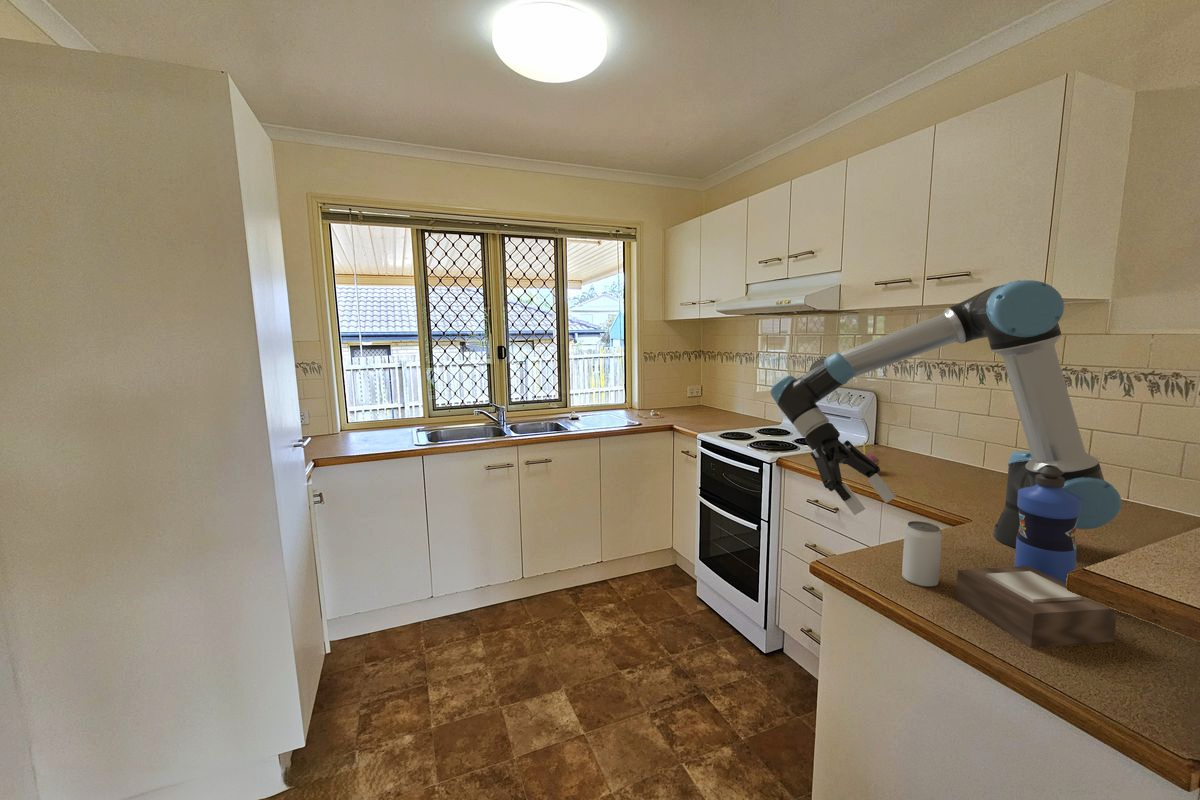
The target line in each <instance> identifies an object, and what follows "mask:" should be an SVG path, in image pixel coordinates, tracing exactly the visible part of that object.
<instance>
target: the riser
mask: <svg viewBox="0 0 1200 800" xmlns="http://www.w3.org/2000/svg"><path fill="white" fill-rule="evenodd" d="M956 577H957V578H956V588H955V589H956V590H955V599H956V601H959V602H960V603H962V604H963V605H965V606H966V607H968V608H969V609H970V610H972V611H974V612H975V613H977V614H978V615H980V616H981V617H983V618H984V617H985V619H986V620H988V621H989V622H991V623H993V624H994V625H995V626H996V627H998V628H1000V629H1002V630H1003V631H1004V632H1006V633H1008V634H1009V635H1011V636H1012V637H1014V638H1015V639H1017V640H1019V641H1020V642H1021V643H1023V644H1024V645H1025V646H1028V647H1029V648H1031V649H1033V648H1044V647H1055V646H1056V647H1058V646H1060V647H1061V646H1073V645H1086V644H1087V645H1089V644H1101V643H1104V644H1105V643H1114V642H1115V641H1114V640H1115V632H1116V624H1117V616H1118V610H1114V609H1111V608H1109V607H1106V606H1104V605H1102V604H1100V603H1097V602H1095V601H1092V600H1089V599H1087V598H1084V597H1082V596H1080V595H1077V594H1075V593H1072V592H1070V591H1068V590H1067V588H1066V583H1064V582H1061V581H1059V580H1057V579H1055V578H1053V577H1051V576H1049V575H1047V574H1045V573H1043V572H1041V571H1038V570H1036V569H1034V568H1032V567H1030V566H1019V567H1015V566H1003V567H1001V566H1000V567H988V568H987V567H986V568H985V567H983V568H969V569H968V568H967V569H965V568H964V569H958V570H957V576H956Z"/></svg>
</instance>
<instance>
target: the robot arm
mask: <svg viewBox="0 0 1200 800" xmlns="http://www.w3.org/2000/svg"><path fill="white" fill-rule="evenodd" d="M1064 311H1065V304H1064V300H1063V297H1062V295H1061V293H1060V292H1059V291H1058V290H1057V289H1056V288H1055V287H1053V285H1050V284H1048V283H1045V282H1043V281H1038V280H1032V279H1030V280H1028V279H1027V280H1026V279H1025V280H1019V279H1018V280H1015V281H1010V282H1008V283H1005V284H1002V285H997V286H993V287H990V288H987V289H985V290H983V291H980V292H979V293H977V294H975V295H973V296H972V297H971V296H970V297H969V298H968V299H965V300H963V301H961V302H959V303H957V304H954V305H951V306H949V307H946V308H945V310H944V311H943V312H942V313H941V314H940V315H936V316H934V317H931V318H928V319H926V320H923V321H921V322H918V323H916V324H913V325H910V326H907V327H904V328H902V329H900V330H897V331H894V332H891V333H889V334H886V335H884V336H881V337H879V338H878V337H877V338H875V339H872V340H870V341H867V342H865V343H862V344H859V345H857V346H854V347H851V348H849V349H846V350H844V351H841V352H834V353H833V354H831V355H830V356H828V357H825V358H820V359H818V360H815V361H814V362H813V363H812V364H811V365H810V366H809V369H808V371H807V372H806V373H805V374H803V375H802V376H800V377H799V378H796V377H795V376H794V375H793V376H792V375H787V376H784V377H783V378H781V379H779V380H778V381H777V382H775V383H774V384H773V386H772V387H771V388H770V395H771V397H772V399H773V400H774V401H775V403H776V404H777V406H778V408H779V409H780V410H781V411H782V413H783V414H784V416H786V418H787V419H788V420H789V422H790V423H791V424H792V425H793V426H794V428H795V429H796V431H797V433H799V434H800V436H801V437H802V438H804V441H805V442H806V444H807V445H808V447H809V448H810V450H812V451H811V452H810V456H811V457H812V459H813V460H814V463H815V465H816V468H817V470H818V472H819V473H818V474H819V477H820V478H821V481H822V484H823V487H824V488H825V489H828V491H829V492H833V491H835V492H836V493H837V494H838V496H839V497H840V499H841V500H842V501H843V502H844V503H845V505H846V506H847V507H848V509H849V510H850V511H851V513H852V514H853V515H854V516H856V515H858V514H860V513H861V512H863V511H865V510H866V507H865V505H863V504H862V502H861V500H860V499H859V498H858V497H857V496H856V494H855V493H854V492H853V491H852V489H851V488H850V487H849V485H848V484H847V483H843V478H842V474H841V473H842V472H841V469H840V464H842V465H848V466H849V467H851V468H852V469H854V470H855V471H857V472H859V473H860V474H862V475H864V476H865V477H867V479H866V481H868V483H869V484H870V485H871V487H872V488H873V489H874V490H875V492H876V493H877V495H879V497H880V498H881V499H882V501H883V502H884V503H885V504H887V503H889V502H890V501H892V500H894V499H896V498H897V495H896V494H895V493H894V492H893V491H892V489H891V488H890V487H889V486H888V484H887V483H886V482H885V481H884V480H883V478H882V477H881V476H880V475H879V474H878V473H879V472H881V468H880V466H879V465H876V464H875V463H874V462H872V461H871V460H870V459H869V458H867V457H866V456H865V455H864V453H863V452H862V451H860V450H858V448H856V447H855V446H854V445H853V444H852V443H851V442H850V441H849V440H845V441H844V442H843V443H842V442H841V441H840V440H839V437H840V435H841V433H840V432H839V430H838V429H837V428H836V426H835V425H834V424H833V423H831V422H830V418H828V417H827V415H826V414H825V413H824V412H823V410H822V409H821V408H820V407H819V406H818V405H817V404H816V403H818V402H820V401H821V400H822V399H823V398H825V397H827V396H828V395H830V394H831V393H833V392H834V391H836V390H837V389H839V388H840V387H842V386H843V385H846V384H847V383H848V382H849V381H850V380H851V379H853V378H855V377H858V376H861V375H864V374H867V373H870V372H872V371H875V370H878V369H881V368H884V367H886V366H891V365H893V364H896V363H898V362H901V361H904V360H907V359H910V358H913V357H915V356H919V355H922V354H923V353H927V352H930V351H933V350H935V349H938V348H942V347H944V346H947V345H950V344H953V343H959V344H965V343H967V342H970V341H975V340H979V339H985V338H987V340H988V342H989V343H988V344H989V347H990V351H991V352H993V353H995V354H998V355H1000V356H1001V357H1002V361H1003V364H1004V367H1005V371H1006V374H1007V377H1008V381H1009V384H1010V385H1009V386H1010V388H1011V391H1012V395H1013V397H1014V401H1015V404H1016V408H1017V411H1018V414H1019V418H1020V422H1021V425H1022V429H1023V433H1024V436H1025V439H1026V442H1027V446H1028V448H1029V449H1028V450H1029V451H1027V450H1025V451H1024V450H1021V451H1020V450H1018V451H1014V452H1012V453H1011V454H1010V456H1009V461H1008V463H1007V466H1008V468H1007V469H1008V470H1007V481H1006V492H1005V505H1004V508H1003V511H1002V512H1001V514H1000V515H999V518H998V520H997V522H996V523H995V524H994V528H993V535H992V536H993V537H994V539H996V540H997V541H999V542H1001V543H1002V544H1004V545H1006V546H1008V547H1011V548H1015V549H1016V537H1017V535H1018V531H1019V527H1020V519H1019V509H1018V506H1017V499H1018V490H1019V489H1022V488H1026V487H1032V486H1035V485H1036V483H1035V479H1036V475H1037V474H1040V473H1039V472H1038V471H1037V470H1038V469H1040V468H1041V467H1043V466H1045V465H1053V466H1056V467H1058V468H1059V469H1060V470H1061V471H1062V472H1063V473H1064V474H1063V475H1061V477H1063V478H1065V481H1064V487H1063V488H1064V489H1065V490H1066V491H1068V492H1071V493H1073V494H1075V495H1077V496H1079V497H1080V498H1081V499H1082V502H1081V515H1080V516H1079V519H1078V523H1077V527H1076V530H1090V529H1091V530H1092V529H1097V528H1100V527H1103V526H1106V525H1107V524H1109V523H1111V521H1112V520H1114V519H1115V518H1116V517H1117V516H1118V514H1119V513H1120V511H1121V508H1122V498H1121V495H1120V493H1119V492H1118V490H1117V489H1116V488H1115V487H1114V485H1112V483H1109V482H1108V481H1106V479H1104V475H1103V471H1102V467H1101V465H1100V462H1099V459H1098V458H1097V457H1095V456H1093V455H1091V454H1090V453H1087V451H1086V449H1085V446H1084V443H1083V439H1082V436H1081V432H1080V429H1079V426H1078V421H1077V419H1076V415H1075V412H1074V408H1073V405H1072V401H1071V399H1070V395H1069V391H1068V387H1067V384H1066V380H1065V378H1064V374H1063V370H1062V367H1061V364H1060V360H1059V356H1058V354H1057V353H1058V352H1057V349H1056V347H1055V344H1056V343H1057V342H1058V341H1059V339H1060V338H1061V337H1062V332H1061V327H1060V324H1059V321H1060V320H1061V318H1062V317H1063V314H1064ZM1077 545H1078V543H1077V541H1076V547H1077ZM1077 548H1078V547H1077Z"/></svg>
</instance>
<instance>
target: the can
mask: <svg viewBox="0 0 1200 800" xmlns="http://www.w3.org/2000/svg"><path fill="white" fill-rule="evenodd" d="M940 530H941V528H940V527H939V526H937V524H934V523H931V522H928V521H927V522H926V521H919V520H914V521H913V520H911V521H908V522H907V526H906V527H905V529H904V537H903V552H902V567H901V568H902V569H901V577H903V579H904V580H905V581H906V580H907V581H906V582H908V583H909V584H912V585H915V586H918V587H923V588H933V587H936V586H937V585H938V584H939V579H940V569H941V568H940V567H941V558H942V557H941V555H942V554H941V553H942V542H943V536H942V534H941V531H940Z"/></svg>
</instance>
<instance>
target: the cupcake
mask: <svg viewBox="0 0 1200 800" xmlns="http://www.w3.org/2000/svg"><path fill="white" fill-rule="evenodd" d="M863 454H864V455H865V456H866V457H867V458H869V459H870V460H871V461H872V462H874V463H875V464H876V465H877V466H879V464H880V460H879V458H878V457H876V456H875V455H873V454H868V453H867V451H866V442H865V441H863Z"/></svg>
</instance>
